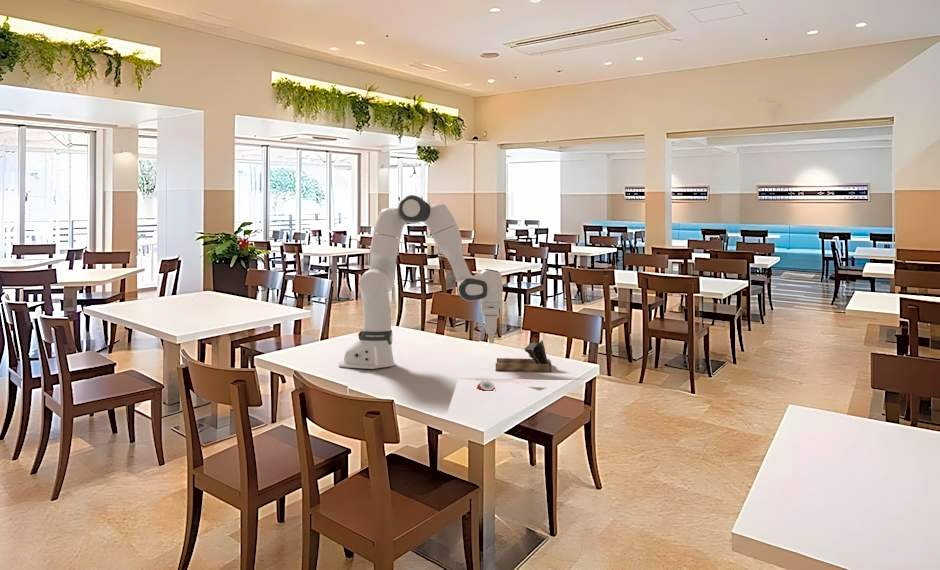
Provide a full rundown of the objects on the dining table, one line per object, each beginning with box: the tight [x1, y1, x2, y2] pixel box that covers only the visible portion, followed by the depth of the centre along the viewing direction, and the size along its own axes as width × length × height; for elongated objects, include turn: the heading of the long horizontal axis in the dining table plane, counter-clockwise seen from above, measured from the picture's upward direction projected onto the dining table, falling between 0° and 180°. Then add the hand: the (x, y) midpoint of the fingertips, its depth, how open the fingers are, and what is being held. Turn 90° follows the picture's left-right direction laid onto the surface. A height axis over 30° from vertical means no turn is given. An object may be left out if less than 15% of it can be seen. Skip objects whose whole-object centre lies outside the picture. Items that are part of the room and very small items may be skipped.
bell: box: [524, 340, 548, 364], centre depth 252 cm, size 10×7×12 cm
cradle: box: [495, 357, 553, 373], centre depth 251 cm, size 22×14×3 cm, turn 86°
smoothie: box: [476, 380, 496, 391], centre depth 228 cm, size 8×8×20 cm
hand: (491, 343), depth 251 cm, fingers closed
